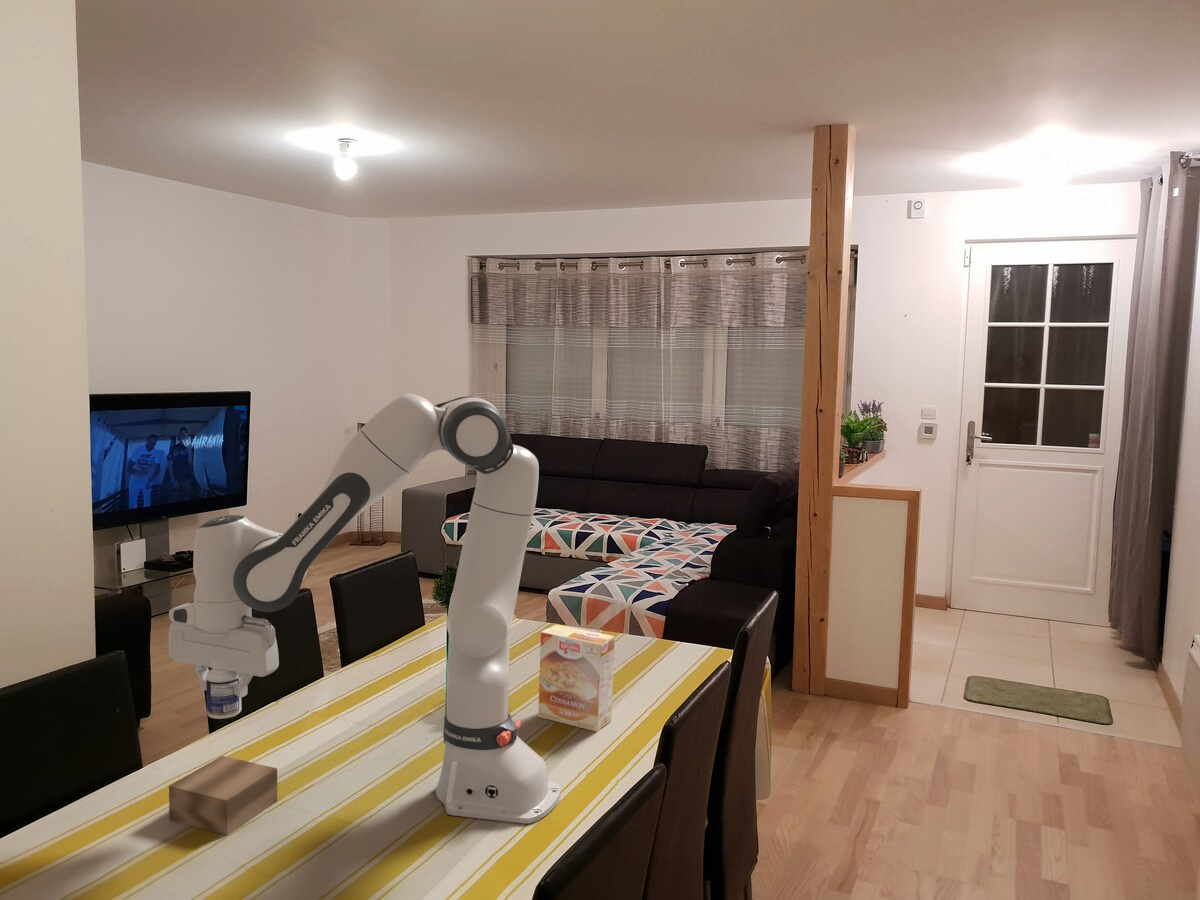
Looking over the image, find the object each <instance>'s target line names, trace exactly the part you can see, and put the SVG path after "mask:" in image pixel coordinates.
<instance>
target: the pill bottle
mask: <svg viewBox="0 0 1200 900" xmlns="http://www.w3.org/2000/svg"><path fill="white" fill-rule="evenodd" d="M219 663H220V662H218V661H213V660H212V664H211V666H212V667H210V669H209V672H208V673H207V676H206V683H207V690H206V712H207V713H206V714H207V716H208V717H209V718H211V719H216V720H217V719H218V720H220V719H221V720H222V719H229V718H233V717H236V716H237V715H239V714H240V713H241V712H242V710H243V709H242V707H243V705H242V704H243V703H242V698H243V697H237V696H234V695H233V692H234V691H233V686H236V685H238V684H239V681H240V679H241V678H238V672H233V671H228V670H222V669H220V666H219Z"/></svg>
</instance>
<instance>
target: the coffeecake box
mask: <svg viewBox="0 0 1200 900" xmlns="http://www.w3.org/2000/svg"><path fill="white" fill-rule="evenodd" d="M539 652H540V653H539V657H540V658H539V677H538V678H539V681H538V685H539V686H538V718H542V719H545V720H548V721H554V722H557V723H562V724H565V725H569V726H572V727H577V728H580V729H584V730H585V729H586V730H588V731H591V732H596V733H598V732H599V731H601V730H602V729H603V728H602V727H603V726H604V727H605V726H607V725H608V724H609V723H610V722H612V713H613V712H612V708H613V684H614V663H615V661H614V658H615V635H611V634H606V633H601V632H597V631H592V630H586V629H581V628H576V627H572V626H566V625H561V624H557V623H556V624H554V625H552V626H551V627H548V628H545V629H544V630H542V631H540V651H539ZM606 724H607V725H606ZM601 728H602V729H601Z"/></svg>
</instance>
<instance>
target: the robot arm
mask: <svg viewBox="0 0 1200 900" xmlns="http://www.w3.org/2000/svg"><path fill="white" fill-rule="evenodd" d="M437 451H446V452H447V453H449V454H450V455H451V456H452V457H453V458H454V459H455V460H456V461H457V462H460V463H462V464H464V465H465V466H467V467H469V468H471V469H473V470H475V472H476V480H475V481H476V483H475V489H474V493H473V496H472V501H471V505H470V510H469V513H468V514H469V515H468V517H467V518H468V519H467V524H466V528H465V533H464V537H463V542H462V547H461V551H460V556H459V560H458V561H459V562H458V566H457V570H456V576H455V579H454V584H453V588H452V593H451V594H450V595H451V596H450V599H449V606H448V611H447V617H446V629H447V633H448V655H447V674H446V675H447V678H446V679H447V682H446V683H447V685H446V713H445V715H444V718H443V743H444V753H443V761H442V766H441V770H440V771H441V772H440V776H439V780H438V782H437V786H436V789H435V794H436V795H435V796H436V797H437V799H438V800H439V801H440V802H441V803H442V804H443V805H444V808H445V812H446V814H448V815H449V816H456V817H464V818H473V819H483V820H489V821H491V820H492V821H499V822H510V823H516V824H517V823H518V824H527V825H528V824H532V823H534V822H537V821H539V820H541V819H542V818H544V817H545V816H547V815H548V814H549V813H550V812H552V810H553V809H554V808H555V806H556V805H557V804H558V802H559V800H560V798H561V787H560V785H559V784H558V783H557V782H554V781H552V780H549V774H548V767H547V764H546V762H545V760H544V758H543V757H542V756H540V755H539V753H537V752H535V751H534V750H533V749H532V748H531V747H530V746H529V745H527V743H526V742H524V741H523V740H522V739H521V738H520V737H519V736H518V735H517V734H518V729H519V728H521V726H522V725H521V722H522V720H521V719H519V720H517V721H516V723H515V722H514V721H513V719H512V717H511V715H510V713H509V701H510V700H509V698H510V697H509V696H510V693H509V692H510V690H509V689H510V642H511V639H510V637H511V628H512V624H513V619H514V614H515V610H516V609H515V608H516V604H517V598H518V592H519V587H520V581H521V575H522V570H523V566H524V560H525V554H526V550H527V545H528V541H529V537H530V531H531V527H532V522H533V519H534V513H535V509H536V504H537V503H536V502H537V498H538V497H537V496H538V492H539V491H538V488H539V479H540V478H539V476H540V473H539V472H540V467H539V466H540V465H539V461H538V458H537V457H536V455H535V454H534V453H533V452H531V451H530V450H529V449H528V448H525V447H523V446H521V445H517V444H514V443H513V441H512V438H511V435H510V432H509V428H508V424H507V422H506V420H505V418H504V417H503V414H502V413H501V412H500V411H499V409H497V407H496V406H495V405H493V403H491V402H490V401H488V400H485V399H483V398H481V397H475V396H461V397H457V398H454V399H451V400H447V401H444V402H441V403H438V404H433V403H432V402H430V401H429V400H428V399H426V398H425V397H423V396H421V395H418V394H414V393H405V394H401V395H400V396H398V397H396V398H395V399H394V400H392V401H390V402H389V403H388V404H386V405H385V406H384V407H383V408H382V409H380V410H379V411H378V412H377V413H376V414H374V416H372V417H371V418H370V419H369V420H368V421H367V422H366V423H365V424H364V425H363V426H362V427H361V428H360V429H359V430H358V431H357V432H356V433H355V435H354V436H353V437H352V438H351V439H350V440H349V442H348V443H347V444H346V446H345V447H344V449H343V450H342V452H341V453H340V454H339V456H338V458H337V460H336V461H335V463H334V465H333V467H332V470H331V471H330V473H329V476H328V478H327V479H326V482H325V483H324V485H323V487H322V489H321V491H320V492H319V494H318V495H317V496H316V498H315V499H314V501H313V502H312V503H311V504H310V505H309V506H308V508H307V509H306V510H305V511H303V513H302V514H300V516H299V517H297V519H296V520H295V521H294V523H292V525H291V526H289V528H288V529H287V530H286V531H284V533H281V532H277V531H274V530H271V529H268V528H265V527H263V526H261V525H258V524H256V523H254V522H253V521H251V520H250V519H249V518H247V517H246V516H244V515H240V514H231V515H224V516H218V517H216V518H213V519H210V520H207V521H206V522H204V523H203V524H202V525H200V526H199V527H198V529H197V530H196V533H195V537H194V542H193V543H194V544H193V557H192V559H193V562H192V563H193V565H192V566H193V568H192V571H193V576H194V578H195V590H194V593H193V601H189V602H186V603H184V604H180V605H178V606H175V607H173V608H171V609H169V611H168V617H169V620H170V621H171V623H170V625H169V629H168V652H169V656H170V658H171V659H172V660H173V661H175V662H181V663H186V664H192V665H194V672H195V673H196V675H197V677H198V679H199V681H200V689H201V690H202V691H207V683H206V676H207V673H208V672H209V671H210V669H209V668H211V667H212V666H211V664H212V660H213V661H218V662H220V663H219V666H220V669H222V670H228V671H233V672H238V678H241V679H240V681H239V684H238V685H236V686H233V691H234V692H233V695H234V696H237V697H242V698H243V697H245V696H247V695H248V689H249V688H248V685H249V684H250V682H251V680H252V679H253V677H254V676H255V677H259V678H261V677H262V678H263V677H266V676H268V675H270V674H272V673H274V672H275V671H276V670H277V669H278V668H279V665H280V661H279V660H280V659H279V648H278V642H277V638H276V628H275V627H274V625H272V624H271V623H270V622H269V620H268V619H266V618H257V617H254V616H253V615H252V609H253V610H255V611H258V612H264V613H273V612H277V611H280V610H283V609H286V608H287V607H288V606H290V605H291V604H292V603H293V601H294V600H295V599H296V597H297V596H298V595H299V592H300V589H301V588H302V584H303V582H304V579H305V578H306V575H307V574H308V570H309V569H310V566H311V565H312V564H313V563H314V561H315V560H316V559H317V558H318V556H320V555H321V553H322V552H323V551H324V550H325V549H326V548H327V547H328V546H329V545H330V543H331V542H332V541H333V540H334V539H335V538H336V537H337V535H338V534H340V532H341V531H343V530H344V528H345V527H346V526H347V525H348V524H349V523H350V522H351V521H353V520H354V519H355V518H356V517H358V516H359V515H360V514H362V513H363V512H364V511H366V510H367V509H368V508H370V507H371V506H373V505H374V504H375V503H377V502H378V501H379V500H381V499H382V498H383V497H385V496H386V495H387V494H388V493H390V492H391V491H392V490H394V489H395V488H396V487H397V486H398V485H399V484H400V483H401V482H403V481H404V480H405V479H406V478H407V476H408V475H410V473H411V472H412V471H413V470H414V469H415V468H416V467H417V466H418V464H419V463H420V462H421V461H422V460H423V459H425V458H426V457H427V456H428V455H430V454H432V453H434V452H437Z"/></svg>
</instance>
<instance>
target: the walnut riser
mask: <svg viewBox="0 0 1200 900" xmlns="http://www.w3.org/2000/svg"><path fill="white" fill-rule="evenodd" d="M277 802H278V768H277V767H273V766H272V767H271V766H268V765H263V764H259V763H255V762H252V761H251V762H250V761H247V760H242V759H238V758H234V757H231V756H224V755H221V756H219V757H218V758H216V759H214V760H212V761H210V762H208V763H207V764H204V765H203V766H202V767H200V768H198V769H196V770H195V771H192V772H191V773H189V774H187V775H185V776H184V777H182V778H180V779H179V780H176V781H175V782H173V783H172V784H169V785H168V809H169V821H172V822H175V823H178V824H183V825H187V826H191V827H194V828H197V829H201V830H206V831H210V832H213V833H217V834H219V835H224V836H228V835H230V834H231V833H233V832H234V831H236V830H237V829H239V828H241V827H242V826H243V825H245V824H246V823H248V822H249V821H251V820H252V819H254V818H255V817H256V816H257V815H259V814H260V813H262V812H264V811H265V810H267V809H268V808H269V807H272V805H274V804H275V803H277Z"/></svg>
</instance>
